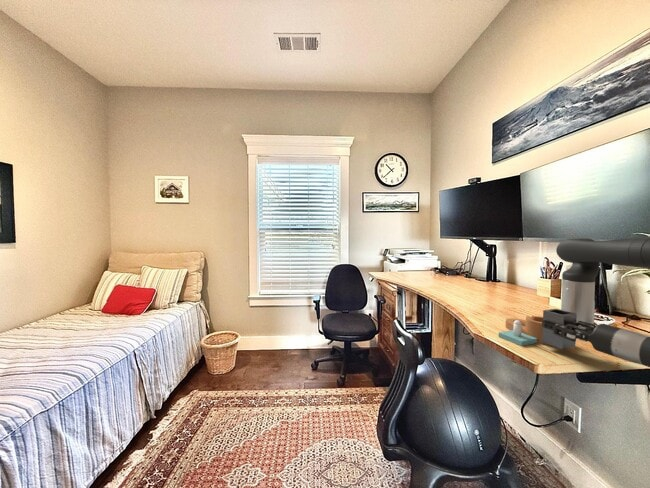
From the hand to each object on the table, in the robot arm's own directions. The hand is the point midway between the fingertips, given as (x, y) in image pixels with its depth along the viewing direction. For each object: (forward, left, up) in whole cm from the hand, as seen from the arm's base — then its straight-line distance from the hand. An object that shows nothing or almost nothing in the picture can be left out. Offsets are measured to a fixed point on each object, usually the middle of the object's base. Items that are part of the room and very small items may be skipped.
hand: (550, 322), depth 85 cm
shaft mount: (+4, -7, -8) cm, 12 cm away
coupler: (0, +3, -6) cm, 7 cm away
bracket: (-5, -10, -8) cm, 14 cm away
